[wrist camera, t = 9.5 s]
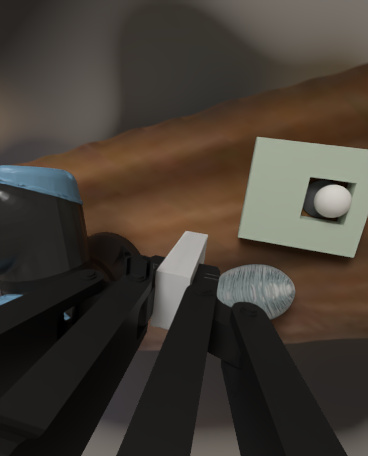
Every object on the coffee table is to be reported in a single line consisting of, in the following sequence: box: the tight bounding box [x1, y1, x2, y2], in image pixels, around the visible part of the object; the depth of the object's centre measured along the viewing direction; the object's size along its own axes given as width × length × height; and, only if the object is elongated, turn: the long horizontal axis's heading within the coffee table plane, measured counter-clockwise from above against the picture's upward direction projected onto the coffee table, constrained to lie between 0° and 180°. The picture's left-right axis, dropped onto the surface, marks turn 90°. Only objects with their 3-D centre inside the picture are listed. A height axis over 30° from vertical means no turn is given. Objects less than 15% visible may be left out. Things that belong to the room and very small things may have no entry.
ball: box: [314, 185, 352, 218], centre depth 39 cm, size 5×5×5 cm
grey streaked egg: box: [217, 264, 295, 319], centre depth 44 cm, size 14×10×10 cm
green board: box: [238, 137, 368, 258], centre depth 41 cm, size 18×16×3 cm
